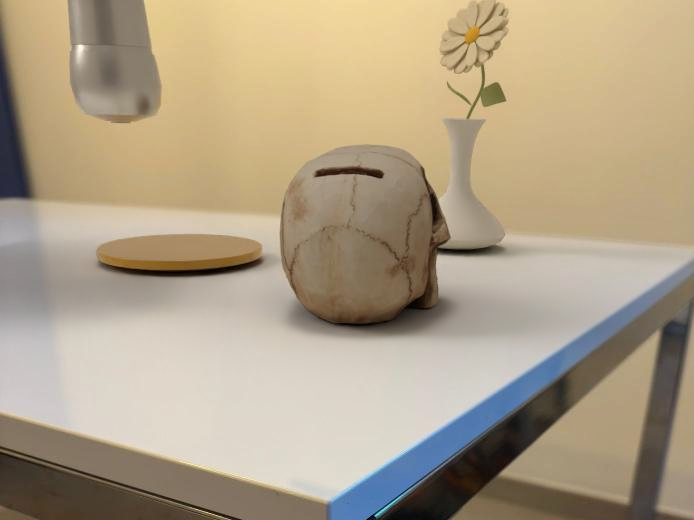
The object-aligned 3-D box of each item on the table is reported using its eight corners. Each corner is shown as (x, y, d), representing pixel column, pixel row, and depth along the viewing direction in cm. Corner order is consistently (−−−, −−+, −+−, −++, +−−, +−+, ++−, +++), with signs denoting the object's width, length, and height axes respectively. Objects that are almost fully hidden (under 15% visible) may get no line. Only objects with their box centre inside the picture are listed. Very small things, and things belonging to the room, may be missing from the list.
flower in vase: (392, 242, 95) (397, 0, 84) (472, 238, 100) (488, 6, 88) (444, 261, 85) (458, -13, 73) (531, 255, 89) (557, -5, 78)
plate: (65, 271, 77) (63, 255, 76) (143, 244, 91) (141, 231, 91) (230, 280, 74) (229, 264, 73) (282, 251, 89) (282, 237, 88)
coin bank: (400, 276, 76) (407, 125, 68) (494, 340, 63) (515, 162, 55) (244, 295, 70) (233, 131, 63) (313, 369, 57) (308, 175, 50)
